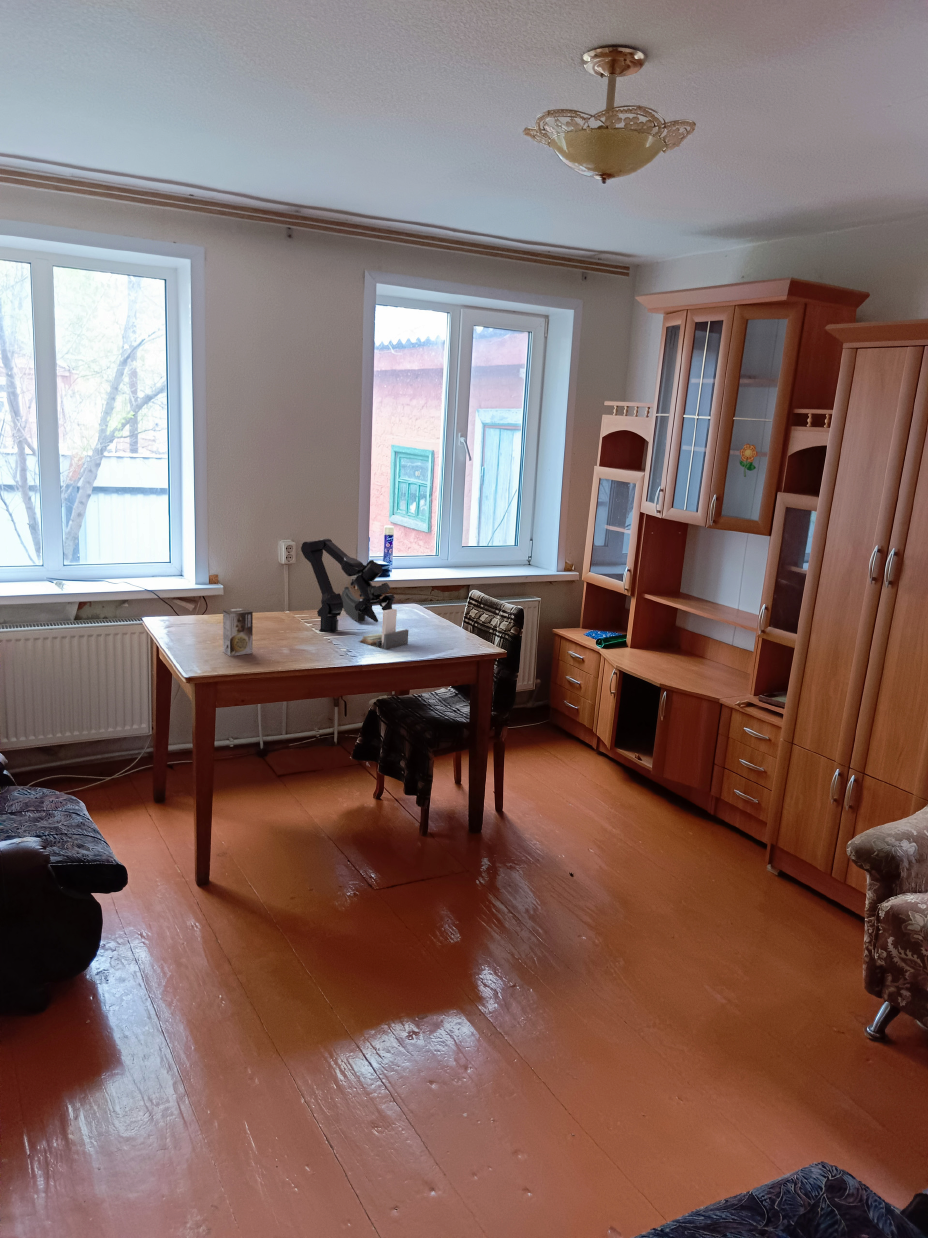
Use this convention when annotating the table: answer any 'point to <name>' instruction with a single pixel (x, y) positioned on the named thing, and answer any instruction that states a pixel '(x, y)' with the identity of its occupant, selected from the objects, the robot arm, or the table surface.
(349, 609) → the magazine
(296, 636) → the table surface
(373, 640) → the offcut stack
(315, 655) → the table surface
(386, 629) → the tall sheet
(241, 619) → the coffee box
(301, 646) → the table surface
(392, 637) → the rack
